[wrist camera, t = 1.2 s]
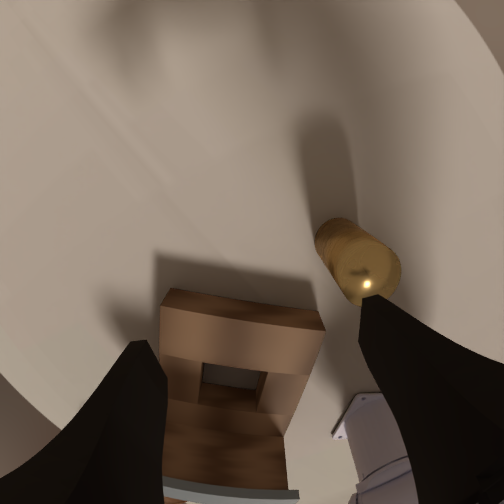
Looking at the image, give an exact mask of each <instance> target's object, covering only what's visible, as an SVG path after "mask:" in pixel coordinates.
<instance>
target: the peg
mask: <svg viewBox="0 0 504 504" xmlns="http://www.w3.org/2000/svg"><path fill="white" fill-rule="evenodd" d="M315 248H316V251H317V253H318V255H319V257H320V258H321V260H322V261H323V263H324V264H325V266H326V267H327V269H328V270H329V272H330V273H331V275H332V276H333V278H334V280H335V281H336V283H337V284H338V286H339V287H340V289H341V291H342V292H343V294H344V295H345V297H346V298H347V299H348V300H349V301H350V302H351V303H352V304H354V305H357V306H360V307H362V298H365V297H369V296H373V295H376V294H379V295H381V296H382V297H384V298H385V299H388V298H389V297H390V296H391V295H392V294H393V292H394V291H395V289H396V288H397V286H398V283H399V281H400V277H401V265H400V261H399V258H398V257H397V255H396V254H395V253H394V252H393V251H392V250H391V249H390V248H388V247H387V246H386V245H384V244H383V243H381V242H380V241H379V240H377V239H376V238H374V237H373V236H371V235H370V234H369V233H367V232H366V231H364V230H363V229H361V228H360V227H358V226H357V225H355V224H354V223H352V222H351V221H349V220H347V219H344V218H334V219H331V220H328V221H327V222H325V223H324V224H323V225H322V226H321V227H320V228H319V230H318V231H317V234H316V237H315Z"/></svg>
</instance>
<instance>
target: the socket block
mask: <svg viewBox="0 0 504 504" xmlns="http://www.w3.org/2000/svg"><path fill="white" fill-rule="evenodd" d="M325 333H326V330H325V327H324V325H323V322H322V320H321V317H320V315H319V312H318V311H311V310H303V309H296V308H288V307H281V306H275V305H268V304H261V303H255V302H248V301H242V300H236V299H230V298H224V297H218V296H212V295H206V294H201V293H195V292H190V291H184V290H179V289H174V288H170V290H169V292H168V293H167V295H166V297H165V298H164V300H163V302H162V303H161V305H160V334H159V364H160V365H161V367H162V369H163V371H164V372H165V374H166V376H167V378H168V408H167V417H166V426H165V435H164V445H163V455H162V479H163V493H164V496H165V497H169V498H174V499H179V500H184V501H190V502H196V503H202V504H296V503H297V502H298V501H299V499H300V498H299V490H288V481H287V470H286V459H285V448H284V438H283V437H284V435H285V432H286V430H287V428H288V426H289V424H290V421H291V419H292V417H293V415H294V412H295V410H296V408H297V405H298V403H299V401H300V398H301V396H302V393H303V391H304V389H305V386H306V384H307V381H308V379H309V376H310V374H311V371H312V369H313V366H314V363H315V361H316V358H317V355H318V353H319V350H320V347H321V344H322V342H323V339H324V336H325ZM204 363H210V364H216V365H222V366H228V367H235V368H242V369H249V370H257V371H261V373H260V377H259V381H258V384H257V388H256V390H250V389H242V388H234V387H227V386H221V385H215V384H209V383H203V382H202V378H203V369H204Z"/></svg>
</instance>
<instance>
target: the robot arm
mask: <svg viewBox="0 0 504 504" xmlns="http://www.w3.org/2000/svg"><path fill="white" fill-rule="evenodd" d="M358 342H359V345H360V347H361V350H362V353H363V356H364V358H365V361H366V363H367V366H368V368H369V370H370V371H371V373H372V375H373V377H374V379H375V381H376V383H377V385H378V387H379V388H380V390H381V392H382V393H361V394H357V395H356V396H355V397H354V399H353V401H352V403H351V404H350V406H349V408H348V410H347V411H346V413H345V415H344V417H343V418H342V420H341V422H340V423H339V425H338V427H337V428H336V430H335V431H334V433H333V435H332V439H348V442H349V446H350V449H351V453H352V456H353V460H354V463H355V467H356V471H357V474H358V478H359V482H360V483H358V484H356V489H357V493H354V494H352V496H351V498H350V500H349V502H348V504H504V364H503V363H500V362H497V361H494V360H492V359H489V358H487V357H484V356H482V355H480V354H478V353H475V352H473V351H471V350H469V349H467V348H465V347H463V346H461V345H459V344H457V343H455V342H453V341H452V340H450V339H448V338H446V337H445V336H443V335H441V334H439V333H438V332H436V331H434V330H433V329H431V328H430V327H428V326H426V325H425V324H423V323H422V322H420V321H419V320H417V319H416V318H414V317H413V316H411V315H410V314H408V313H407V312H405V311H404V310H402V309H401V308H399V307H398V306H396V305H395V304H393V303H392V302H390V301H389V300H387V299H385V298H384V297H382V296H381V295H379V294H376V295H373V296H369V297H365V298H362V307H361V319H360V329H359V339H358ZM363 397H364V398H363ZM167 408H168V378H167V376H166V374H165V372H164V371H163V369H162V367H161V365H160V364H159V362H158V360H157V358H156V356H155V355H154V353H153V351H152V349H151V347H150V345H149V344H148V342H147V340H140V341H131V342H130V343H129V344H128V346H127V347H126V348H125V350H124V351H123V352H122V354H121V355H120V356H119V358H118V359H117V361H116V362H115V363H114V365H113V366H112V368H111V369H110V370H109V372H108V373H107V375H106V376H105V377H104V379H103V380H102V382H101V383H100V384H99V386H98V387H97V389H96V390H95V391H94V392H93V394H92V395H91V396H90V398H89V399H88V400H87V401H86V403H85V404H84V405H83V407H82V408H81V409H80V410H79V412H78V413H77V414H76V415H75V416H74V418H73V419H72V420H71V421H70V422H69V423H68V424H67V425H66V426H65V428H64V429H63V430H62V431H61V432H60V433H59V434H58V435H57V436H56V437H55V438H54V439H53V440H51V441H50V442H49V443H48V444H47V445H46V446H45V447H44V448H43V449H42V450H41V451H39V452H38V453H37V454H36V455H34V456H33V457H32V458H31V459H29V460H28V461H27V462H25V463H24V464H23V465H21V466H20V467H18V468H17V469H15V470H14V471H12V472H10V473H9V474H7V475H5V476H3V477H2V478H0V504H165V503H164V493H163V479H162V455H163V445H164V435H165V426H166V417H167Z"/></svg>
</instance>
